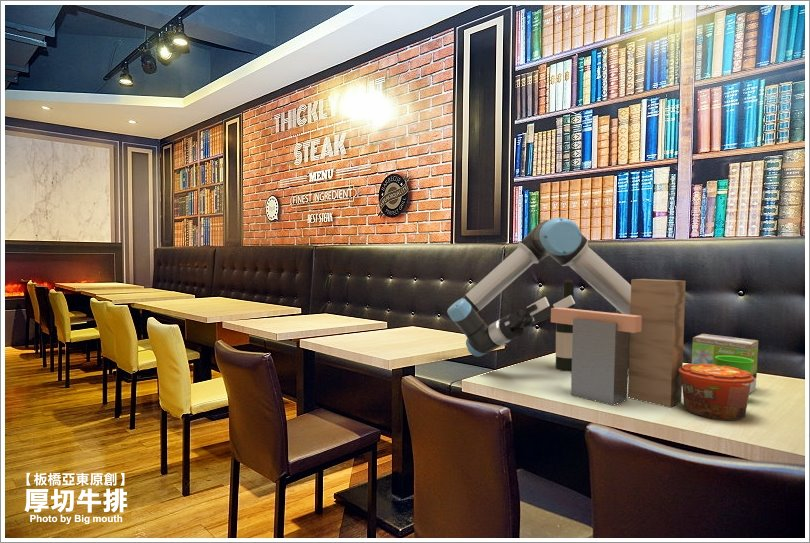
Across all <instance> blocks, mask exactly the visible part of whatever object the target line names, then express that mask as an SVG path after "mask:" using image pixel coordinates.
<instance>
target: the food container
mask: <svg viewBox="0 0 810 543" xmlns="http://www.w3.org/2000/svg"><path fill="white" fill-rule="evenodd" d="M678 372H679V373H681V379H682V397H683V398H682V400H683V408H684V410H685V411H687V412H688V413H691V414H693V415H697V416H699V417H703V418H707V419H714V420H720V421H739V420H742V419H744V418H746V413H747V407H748V402H749V401H748V400H749V396H750V394H749V391H750V386H751V382H754V377H753V376H752V375H751V374H750V372H748V371H745V370H739V369H738V368H734V367H729V366H717V365H715V364H697V365H695V364H691V363H686V364H683V366H682V367H681V368H679V370H678Z"/></svg>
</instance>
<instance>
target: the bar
mask: <svg viewBox="0 0 810 543" xmlns="http://www.w3.org/2000/svg"><path fill="white" fill-rule="evenodd" d="M574 318H576V319H584V320H593V321H602V322H610V323H618V329H617V331H624V332H631V333H636V332H641V326H642V316H638V315H628V314H618V313H616V312H609V311H608V312H607V311H606V312H605V311H597V310H596V311H595V310H587V309H586V310H585V309H580V308H578V309H576V308H574V309H569V308H551V317H550V323H555V324H556V323H561V324H569V325H573V319H574Z"/></svg>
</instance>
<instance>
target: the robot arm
mask: <svg viewBox="0 0 810 543" xmlns="http://www.w3.org/2000/svg"><path fill="white" fill-rule="evenodd" d="M548 256H550V257H551V258H552V259H553V260H554V261H556V262H557V263H558V264H559V265H560V266H562V267H570V269H572V270H573V271H574V272H575V273H576V274H577V275H578V276H580V277H581V278H582V280H584V281H585V282H586V283H587V284H588V285H589V286H590V287H592V288H593V289H594V290H595V291H596V292H597V293H598V294H599V295H600V296H602V297H603V298H604V299H605V300H606V301H607V302H608V303H610V304H611V306H613V307H614V308H615V311H616V312H615V313H618V314H628V315H630V308H631V284H630V283H629V281H627V280H626V279H625V278H623V276H622V275H620V273H618V272H617V271H616V270H615V269H614V268H612V267H611V266H610V265H609V264H608V263H607V262H606V261H605V260H604V259H603V258H602V257H601V256H599V255H598V254H597V252H594V250H593V249H591V248H590V247H589V239H587V237H585V235H583V234H582V232H581V230H580V227H579V226H578V225H577V223H576V222H574V221H573V220H571V219H569V218H564V217H554V218H550V219H548V220H544V221H541V222H540V223H538V224H537V225H535V227H533V229H532V230H531V231H530V232H529V233H528V234H527V235H525V237H524V238H522V240H521V241H519V242H518V246H517V248H516V249H515V250H514V251H512V252H511V253H510V255H508V256H507V257H506V258H504V259H503V261H502V262H500V263H499V264H498V265H497V266H496V267H495V268H493V269H492V271H490V272H489V273H488V274H487V275H486V276H484V278H482V279H481V280H480V281H479V282H478V283H477V284H476V285H475V286H474V287H472V288H471V289H470V290H469V291H468V292H467V293H466V294H464V296H463V297H461V298H460V299H458V300H456V301H455V302H454V303H452V304H451V305H450V306H449V307H448V308H447V311H446V313H447V315H448V316H449V318H450V319H451V321H453V322H454V323H455V325H456V326H457V327H458V328H459V329H460V331H462V333H463V334H464V336H465V337H466V341H465V345H466V346H465V347H467V351H468V352H469V353H470V354H471V355H472V356H473V357H478V358H479V357H482V356H484V355H487V354H489V353H490V352H493V351H494V350H497V349H498V348H501V347H502V346H504V347H506V346H507V343H510V342H511V341H514V340H515V339H517V338H520V337H521V336H522V335H523V334H524V328H528V327H530V326H534V325H536V324H538V323H541V322H543V321H545V320H547V319H549V318H550V319H551V308H568V307H570V306H571V305H573V306H574V305H575V304H576V302H575V300H573V297H572V295H570V296H568V297H566V298H564V299H563V298H562V299H561V300H559V301H557V302H553V303H552V305H551V306H550V303H549V300H548V298H547V297H546V296H544V297H542V298H540V299H538V300H537V301H535V302H533V303H531V304H530V305H528V306H526V307H523V308H517V309H516V310H515V311H514V312H513V313H509V314H506V315H505V316H503V317H501V318H500V319H498V320H496V321H494V322H492V323H491V324H489V325H487V324H486V322H485V321H484V320H483V319H482V318H481V317H480V315H479V314H478V313H480V311H481V310H482V309H484V308H485V307H486V306H487V305H489V304H490V302H491V301H492V300H494V299H495V298H496V297H498V295H500V293H501V292H503V291H504V290H505V289H506V288H507V287H509V285H511V284H512V283H513V282H514V281H515V280H516V279H518V278H519V277H520V276H521V275H522V274H523V273H524V272H526V271H527V270H528V269H529V268H530V267H531V266H532V265H533V264H539V263H541V261H542V260H544V259H545V258H546V257H548ZM629 340H630V332H629ZM628 369H629V352H628Z"/></svg>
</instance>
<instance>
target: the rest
mask: <svg viewBox="0 0 810 543" xmlns="http://www.w3.org/2000/svg"><path fill="white" fill-rule="evenodd" d="M617 329H618V323H610V322H602V321H593V320H584V319H576V318H574V319H573V340H572V371H571V376H570V377H571V380H570V383H571V384H570V386H571V387H570V395H571V396H572V395H574V396H573V397H576V396H579V397H578V398H581V397H583V398H582V399H585V398H587V399H586V400H589V399H591V400H590V401H593V400H596V401H595V402H597V401H600V402H599V403H601V402H604V403H603V404H605V403H608V404H607V405H609V404H612V405H611V406H615V405H614V404H616V405H618V404H620V403H619V402H621V403H623V402H622V401H624V400H626V401H627V400H628V372H629V368H628V352H629V332H624V331H617ZM624 402H625V401H624ZM617 403H618V404H617Z"/></svg>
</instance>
